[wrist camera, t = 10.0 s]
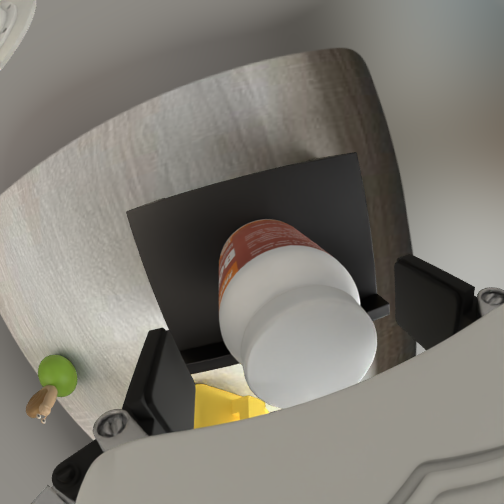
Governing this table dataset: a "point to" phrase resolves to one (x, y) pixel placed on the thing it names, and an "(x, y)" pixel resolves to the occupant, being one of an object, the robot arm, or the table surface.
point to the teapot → (223, 406)
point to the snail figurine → (52, 385)
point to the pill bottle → (291, 315)
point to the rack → (231, 219)
